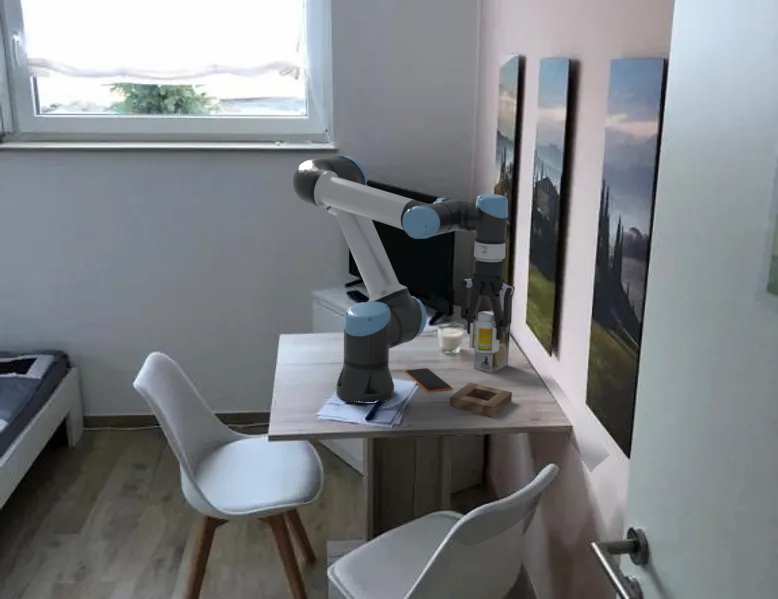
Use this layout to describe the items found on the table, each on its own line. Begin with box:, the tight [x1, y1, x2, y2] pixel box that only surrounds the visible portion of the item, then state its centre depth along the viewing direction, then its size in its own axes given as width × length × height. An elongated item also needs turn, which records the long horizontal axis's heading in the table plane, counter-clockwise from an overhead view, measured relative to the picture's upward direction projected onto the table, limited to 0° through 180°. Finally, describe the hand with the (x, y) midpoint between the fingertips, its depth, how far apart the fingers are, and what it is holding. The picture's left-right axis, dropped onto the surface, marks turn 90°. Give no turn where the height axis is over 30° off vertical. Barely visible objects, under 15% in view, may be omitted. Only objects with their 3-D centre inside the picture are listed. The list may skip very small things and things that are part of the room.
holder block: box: [448, 382, 513, 417], centre depth 216 cm, size 12×12×2 cm
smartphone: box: [403, 367, 453, 393], centre depth 232 cm, size 8×17×1 cm, turn 22°
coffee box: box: [473, 308, 511, 374], centre depth 241 cm, size 9×6×16 cm
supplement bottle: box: [472, 310, 496, 353], centre depth 211 cm, size 5×5×10 cm
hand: (483, 348), depth 212 cm, fingers closed on supplement bottle, 5 cm apart
